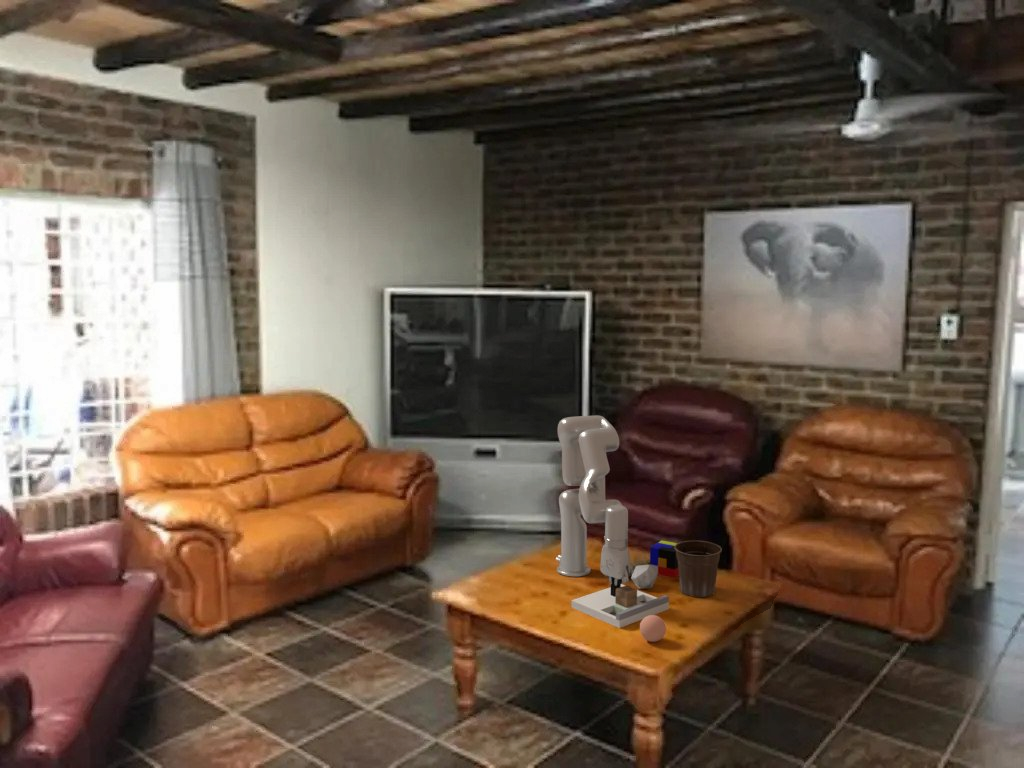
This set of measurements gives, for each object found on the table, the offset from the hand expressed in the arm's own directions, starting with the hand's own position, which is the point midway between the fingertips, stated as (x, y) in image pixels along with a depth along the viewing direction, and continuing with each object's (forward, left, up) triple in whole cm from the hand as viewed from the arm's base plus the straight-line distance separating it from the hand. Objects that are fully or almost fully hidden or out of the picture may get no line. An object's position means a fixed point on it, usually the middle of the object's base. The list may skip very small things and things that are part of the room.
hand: (615, 595), depth 288 cm
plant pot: (+9, +32, -4) cm, 34 cm away
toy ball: (+26, -11, -4) cm, 29 cm away
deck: (+2, 0, -4) cm, 4 cm away
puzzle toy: (-11, +40, -4) cm, 42 cm away
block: (+5, 0, -2) cm, 5 cm away
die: (-6, +21, -4) cm, 22 cm away
